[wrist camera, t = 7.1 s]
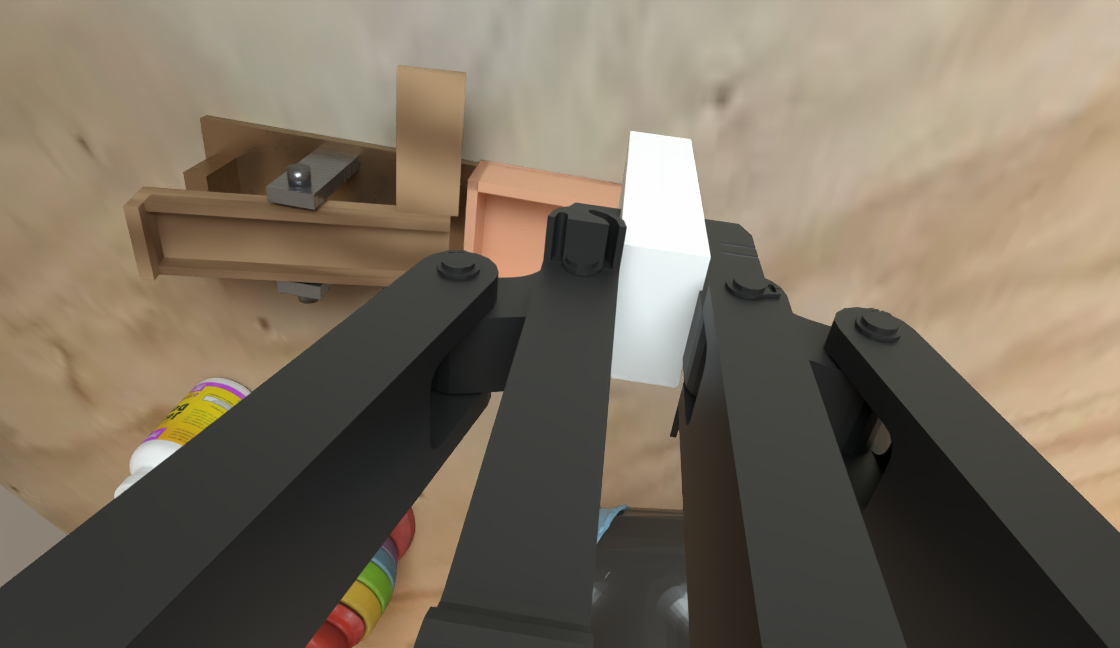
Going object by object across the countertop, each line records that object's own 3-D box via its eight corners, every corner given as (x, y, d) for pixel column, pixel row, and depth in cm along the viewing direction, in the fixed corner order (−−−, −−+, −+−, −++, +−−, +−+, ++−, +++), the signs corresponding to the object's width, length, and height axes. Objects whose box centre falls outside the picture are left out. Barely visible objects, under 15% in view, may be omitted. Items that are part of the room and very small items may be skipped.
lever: (454, 274, 48) (454, 296, 45) (158, 257, 45) (140, 279, 42) (466, 72, 40) (466, 85, 38) (109, 33, 37) (84, 45, 34)
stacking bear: (410, 495, 67) (340, 665, 52) (425, 561, 72) (366, 733, 58) (307, 489, 68) (211, 654, 53) (330, 555, 74) (248, 721, 59)
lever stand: (471, 275, 53) (443, 333, 46) (224, 232, 53) (158, 283, 46) (479, 158, 47) (449, 203, 40) (205, 111, 48) (128, 147, 41)
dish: (615, 300, 52) (613, 327, 49) (472, 275, 53) (460, 300, 49) (639, 187, 47) (638, 209, 44) (480, 160, 48) (468, 179, 44)
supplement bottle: (211, 362, 61) (116, 461, 50) (276, 402, 62) (197, 506, 52) (185, 403, 64) (90, 505, 53) (247, 440, 66) (167, 546, 55)
